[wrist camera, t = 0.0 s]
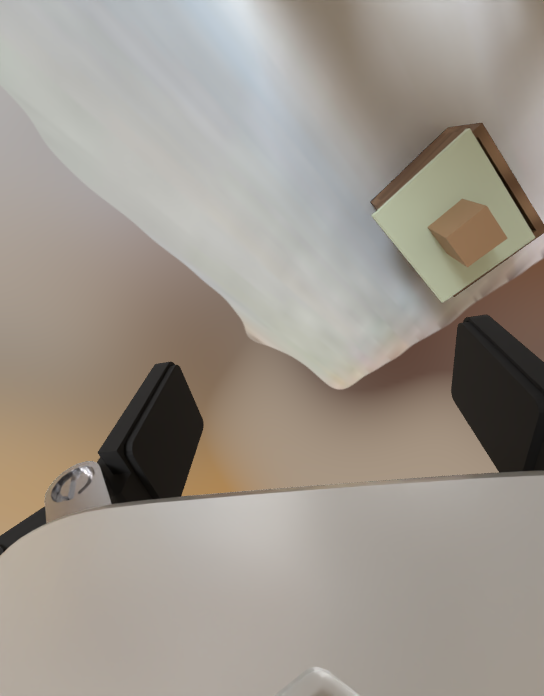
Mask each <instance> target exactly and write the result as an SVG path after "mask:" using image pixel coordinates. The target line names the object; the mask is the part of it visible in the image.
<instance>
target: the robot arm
mask: <svg viewBox="0 0 544 696" xmlns="http://www.w3.org/2000/svg"><path fill="white" fill-rule="evenodd" d="M451 393H452V397H453V400H454V401H455V403H456V405H457V407H458V408H459V410H460V411H461V413H462V414H463V416H464V418H465V419H466V421H467V422H468V424H469V425H470V427H471V429H472V430H473V432H474V433H475V435H476V437H477V438H478V440H479V441H480V443H481V444H482V446H483V447H484V449H485V451H486V452H487V454H488V455H489V457H490V458H491V460H492V462H493V463H494V465H495V466H496V468H497V470H498V471H499V473H484V474H467V475H452V476H438V477H425V478H411V479H397V480H383V481H370V482H357V483H343V484H330V485H317V486H305V487H291V488H280V489H268V490H267V489H266V490H254V491H242V492H230V493H218V494H206V495H194V496H182V497H181V495H182V492H183V489H184V486H185V483H186V480H187V477H188V474H189V470H190V467H191V464H192V461H193V458H194V455H195V452H196V449H197V446H198V443H199V440H200V437H201V434H202V431H203V419H202V417H201V415H200V413H199V410H198V408H197V406H196V403H195V401H194V398H193V396H192V394H191V391H190V389H189V387H188V385H187V382H186V380H185V378H184V376H183V373H182V371H181V368H180V367H179V366H178V365H175V364H174V363H173V362H166V363H159V364H155V365H154V367H153V368H152V370H151V371H150V373H149V374H148V376H147V378H146V379H145V381H144V382H143V384H142V385H141V387H140V388H139V390H138V391H137V393H136V395H135V396H134V397H133V399H132V400H131V402H130V404H129V405H128V407H127V408H126V410H125V411H124V413H123V414H122V416H121V417H120V419H119V420H118V422H117V424H116V425H115V427H114V428H113V430H112V431H111V433H110V434H109V436H108V437H107V439H106V441H105V442H104V444H103V445H102V447H101V448H100V450H99V451H98V454H99V455H100V459H99V460H98V462H97V463H96V462H93V461H86V462H82V463H79V464H77V465H75V466H73V467H70V468H69V469H67V470H66V471H64V472H63V473H62V474H61V475H60V476H58V477H57V478H56V480H54V481H53V483H52V484H51V485H50V486H49V488H48V490H47V492H46V495H45V507H43V508H42V509H40V510H39V511H37V512H36V513H34V514H33V515H31V516H30V517H28V518H26V519H25V520H24V521H22V522H20V523H19V524H17V525H16V526H14V527H13V528H11V529H10V530H8V531H7V532H5V533H4V534H2V535H1V536H0V696H544V362H543V361H542V360H540V359H539V358H538V357H537V356H536V355H535V354H533V353H532V352H531V351H530V350H529V349H528V348H526V347H525V346H524V345H523V344H522V343H520V342H519V341H518V340H517V339H516V338H515V337H513V336H512V335H511V334H510V333H509V332H507V331H506V330H505V329H504V328H503V327H502V326H500V325H499V324H498V323H497V322H496V321H494V320H493V319H492V318H491V317H490V316H488V315H480V316H473V317H467V318H465V319H464V322H463V323H460V324H458V328H457V337H456V348H455V357H454V368H453V379H452V389H451Z"/></svg>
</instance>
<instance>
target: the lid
mask: <svg viewBox="0 0 544 696" xmlns="http://www.w3.org/2000/svg"><path fill="white" fill-rule="evenodd" d="M371 216H372V217H373V218H374V220H375V221H376V222H377V223H378V225H379V226H380V227H381V228H382V230H383V231H384V232H385V233H386V235H387V236H388V237H389V238H390V240H391V241H392V242H393V243H394V245H395V246H396V247H397V248H398V249H399V251H400V252H401V253H402V254H403V256H404V257H405V258H406V259H407V261H408V262H409V263H410V264H411V266H412V267H413V268H414V269H415V271H416V272H417V273H418V274H419V276H420V277H421V278H422V279H423V280H424V282H425V283H426V284H427V285H428V287H429V288H430V289H431V290H432V292H433V293H434V294H435V295H436V297H437V298H438V299H439V300H440V301H441V302H442V303H443V302H445V301H446V300H448V299H449V298H450V297H452V296H453V295H455V294H456V293H458V292H459V291H460V290H462V289H463V288H465V287H466V286H468V285H469V284H470V283H472V282H473V281H475V280H476V279H478V278H479V277H480V276H482V275H483V274H485V273H486V272H488V271H489V270H490V269H492V268H493V267H495V266H496V265H498V264H499V263H500V262H502V261H503V260H505V259H506V258H508V257H509V256H510V255H512V254H513V253H515V252H516V251H518V250H519V249H520V248H522V247H523V246H525V245H526V244H528V243H529V242H530V241H532V240H533V239H535V236H534V234H533V233H532V231H531V229H530V228H529V226H528V224H527V223H526V221H525V219H524V218H523V216H522V214H521V213H520V211H519V209H518V208H517V206H516V204H515V203H514V201H513V199H512V198H511V196H510V194H509V193H508V191H507V189H506V188H505V186H504V184H503V183H502V181H501V179H500V178H499V176H498V174H497V173H496V171H495V169H494V168H493V166H492V164H491V163H490V161H489V159H488V158H487V156H486V154H485V153H484V151H483V149H482V148H481V146H480V144H479V143H478V141H477V139H476V138H475V136H474V134H473V133H472V131H471V129H470V128H468V129H465V130H464V131H463V132H462V133H461V134H460V135H459V136H458V137H457V138H455V139H454V140H453V141H452V142H451V143H450V144H449V145H448V146H447V147H446V148H444V149H443V150H442V151H441V152H440V153H439V154H438V155H437V156H436V157H435V158H434V159H432V160H431V161H430V162H429V163H428V164H427V165H426V166H425V167H424V168H423V169H422V170H420V171H419V172H418V173H417V174H416V175H415V176H414V177H413V178H412V179H411V180H409V181H408V182H407V183H406V184H405V185H404V186H403V187H402V188H401V189H400V190H399V191H397V192H396V193H395V194H394V195H393V196H392V197H391V198H390V199H389V200H388V201H386V202H385V203H384V204H383V205H382V206H381V207H380V208H379V209H378V210H377V211H376V212H374V213H373V214H372V215H371Z"/></svg>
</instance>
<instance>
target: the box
mask: <svg viewBox="0 0 544 696" xmlns="http://www.w3.org/2000/svg"><path fill="white" fill-rule="evenodd" d="M468 128H470V129H471V131H472V133H473V134H474V136H475V138H476V139H477V141H478V143H479V144H480V146H481V148H482V149H483V151H484V153H485V154H486V156H487V158H488V159H489V161H490V163H491V164H492V166H493V168H494V169H495V171H496V173H497V174H498V176H499V178H500V179H501V181H502V183H503V184H504V186H505V188H506V189H507V191H508V193H509V194H510V196H511V198H512V199H513V201H514V203H515V204H516V206H517V208H518V209H519V211H520V213H521V214H522V216H523V218H524V219H525V221H526V223H527V224H528V226H529V228H530V229H531V231H532V233H533V234H534V236H535V239H536V238H537V237H539V236H540V235H542V234H543V233H544V224H543V222H542V221H541V219H540V217H539V216H538V214H537V212H536V211H535V209H534V208H533V206H532V204H531V203H530V201H529V199H528V198H527V196H526V194H525V193H524V191H523V189H522V188H521V186H520V184H519V183H518V181H517V179H516V178H515V176H514V174H513V173H512V171H511V170H510V168H509V166H508V165H507V163H506V161H505V160H504V158H503V156H502V155H501V153H500V151H499V150H498V148H497V146H496V145H495V143H494V141H493V140H492V138H491V136H490V135H489V133H488V132H487V130H486V128H485V127H484V125H483V123H476V124H469V125H462V126H455V127H448V128H447V129H446V130H445V131H444V132H443V133H442V134H441V135H440V136H438V137H437V138H436V139H435V140H434V141H433V142H432V143H431V144H430V145H429V146H428V147H427V148H426V149H425V150H424V151H423V152H422V153H421V154H420V155H419V156H418V157H417V158H416V159H415V160H413V161H412V162H411V163H410V164H409V165H408V166H407V167H406V168H405V169H404V170H403V171H402V172H401V173H400V174H399V175H398V176H397V177H396V178H395V179H394V180H393V181H392V182H391V183H390V184H388V185H387V186H386V187H385V188H384V189H383V190H382V191H381V192H380V193H379V194H378V195H377V196H376V197H375V198H374V199H373V200H372V201H371V203H372V205H373V206H374V207H375V208H376V209H377V210H378V209H379V208H380V207H381V206H382V205H383V204H384V203H385V202H386V201H388V200H389V199H390V198H391V197H392V196H393V195H394V194H395V193H396V192H397V191H399V190H400V189H401V188H402V187H403V186H404V185H405V184H406V183H407V182H408V181H409V180H411V179H412V178H413V177H414V176H415V175H416V174H417V173H418V172H419V171H420V170H422V169H423V168H424V167H425V166H426V165H427V164H428V163H429V162H430V161H431V160H432V159H434V158H435V157H436V156H437V155H438V154H439V153H440V152H441V151H442V150H443V149H444V148H446V147H447V146H448V145H449V144H450V143H451V142H452V141H453V140H454V139H455V138H457V137H458V136H459V135H460V134H461V133H462V132H463V131H464V130H465V129H468ZM535 239H533V240H535ZM533 240H532V241H533ZM532 241H530V242H532ZM530 242H529V243H530ZM529 243H528V244H529ZM528 244H526V245H528ZM526 245H525V246H526ZM525 246H523V247H525ZM523 247H522V248H523ZM522 248H520V249H519V250H521V249H522ZM519 250H518V251H519ZM518 251H516V252H518ZM516 252H515V253H516ZM515 253H513V254H512V255H514V254H515ZM512 255H510V256H509V257H511V256H512ZM509 257H508V258H509ZM508 258H506V259H505V260H507V259H508ZM505 260H503V261H502V262H504V261H505ZM502 262H500V263H499V264H498V265H500V264H501V263H502ZM498 265H496V266H495V267H497V266H498ZM495 267H493V268H492V269H490V270H489V271H488V272H490V271H491V270H493V269H494V268H495ZM488 272H486V273H485V274H483V275H482V276H480V277H479V278H478V279H476V280H475V281H473V282H472V283H470V284H469V285H468V286H466V287H465V288H463V289H462V290H460V291H459V292H458V293H456V294H455V295H453V297H455V296H456V295H458V294H459V293H460V292H462V291H463V290H465V289H466V288H467V287H469V286H470V285H472V284H473V283H474V282H476V281H477V280H479V279H480V278H481V277H483V276H484V275H486V274H487V273H488Z"/></svg>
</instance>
